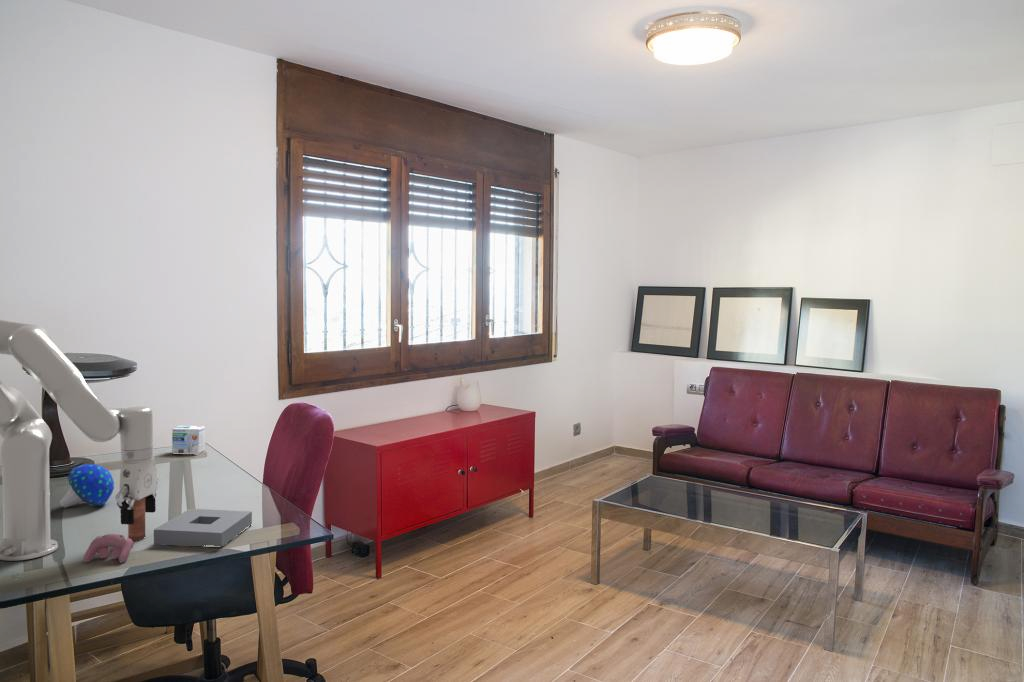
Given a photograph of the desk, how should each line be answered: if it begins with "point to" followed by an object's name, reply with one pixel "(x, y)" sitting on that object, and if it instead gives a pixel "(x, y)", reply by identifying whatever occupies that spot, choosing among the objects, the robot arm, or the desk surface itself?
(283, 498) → the desk surface
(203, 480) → the desk surface
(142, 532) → the dowel
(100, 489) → the mushroom
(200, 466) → the desk surface
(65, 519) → the desk surface
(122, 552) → the video game controller
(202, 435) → the light bulb box
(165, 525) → the socket plate
